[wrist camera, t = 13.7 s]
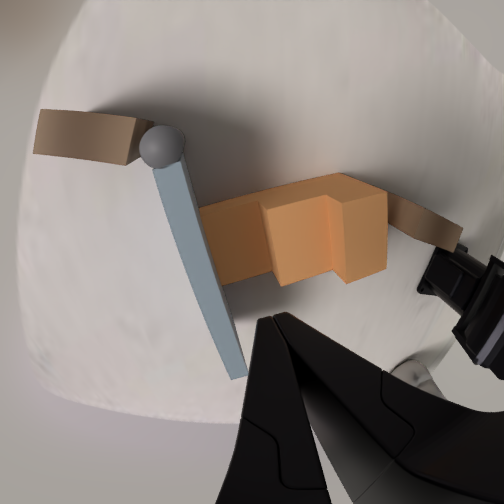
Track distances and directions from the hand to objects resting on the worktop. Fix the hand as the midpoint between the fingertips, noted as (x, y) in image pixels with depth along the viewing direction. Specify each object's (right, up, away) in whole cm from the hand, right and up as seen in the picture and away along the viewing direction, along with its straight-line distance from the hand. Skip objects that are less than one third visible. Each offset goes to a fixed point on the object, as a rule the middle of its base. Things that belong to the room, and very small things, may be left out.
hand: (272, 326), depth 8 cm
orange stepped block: (+1, +4, +12) cm, 13 cm away
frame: (+1, +8, +10) cm, 13 cm away
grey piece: (-4, +3, +11) cm, 12 cm away
